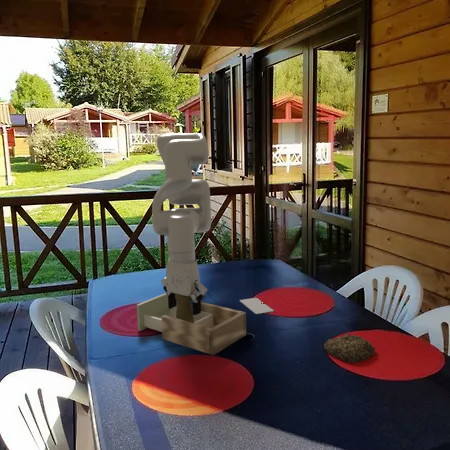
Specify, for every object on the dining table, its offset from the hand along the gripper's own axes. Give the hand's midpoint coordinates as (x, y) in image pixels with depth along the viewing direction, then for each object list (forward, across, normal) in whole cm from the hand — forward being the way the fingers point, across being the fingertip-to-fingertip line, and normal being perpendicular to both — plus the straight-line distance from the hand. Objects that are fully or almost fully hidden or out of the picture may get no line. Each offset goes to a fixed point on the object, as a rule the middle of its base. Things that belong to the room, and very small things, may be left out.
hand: (184, 310), depth 144 cm
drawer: (+6, -3, 0) cm, 7 cm away
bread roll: (+7, +47, +15) cm, 49 cm away
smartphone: (+7, +6, +30) cm, 32 cm away
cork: (+5, 0, 0) cm, 5 cm away
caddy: (+7, +8, 0) cm, 10 cm away
